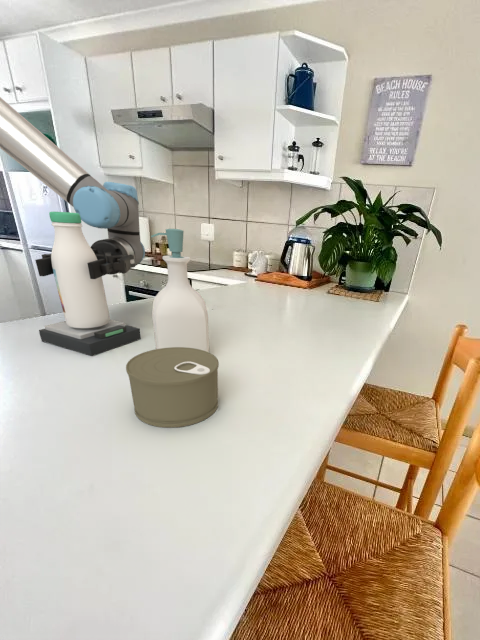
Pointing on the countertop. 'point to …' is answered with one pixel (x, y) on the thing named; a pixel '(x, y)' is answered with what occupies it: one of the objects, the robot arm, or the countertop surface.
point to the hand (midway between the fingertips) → (65, 269)
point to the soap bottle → (179, 303)
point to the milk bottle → (76, 274)
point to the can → (174, 386)
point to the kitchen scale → (90, 336)
